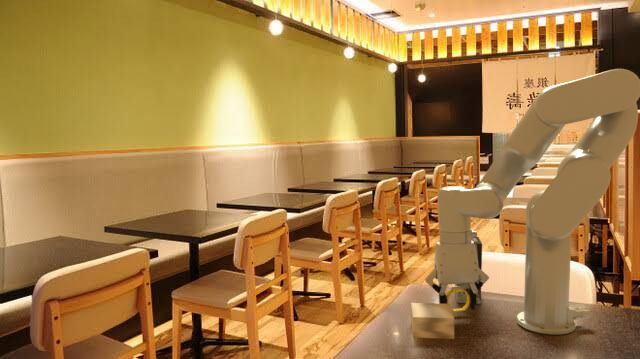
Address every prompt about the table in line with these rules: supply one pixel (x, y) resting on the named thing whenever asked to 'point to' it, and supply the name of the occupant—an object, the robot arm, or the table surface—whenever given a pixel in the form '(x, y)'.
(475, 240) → the coffee box
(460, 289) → the watch
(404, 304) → the table surface
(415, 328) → the wood block
